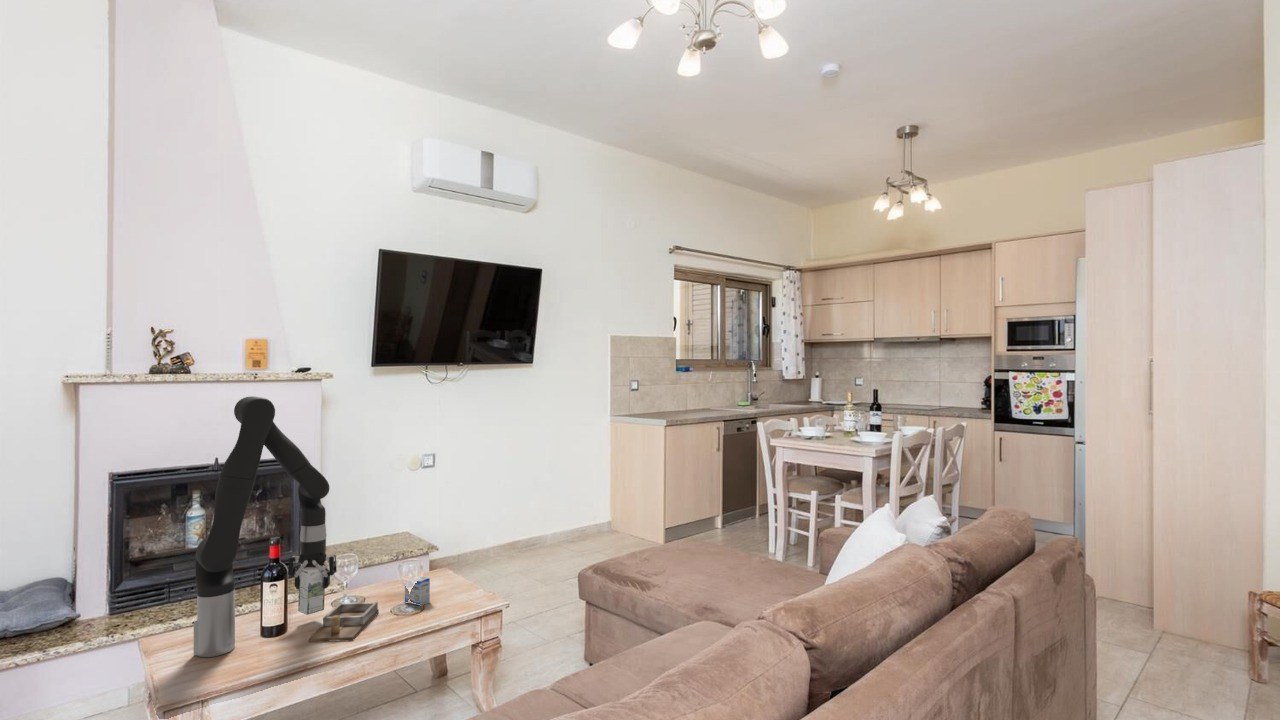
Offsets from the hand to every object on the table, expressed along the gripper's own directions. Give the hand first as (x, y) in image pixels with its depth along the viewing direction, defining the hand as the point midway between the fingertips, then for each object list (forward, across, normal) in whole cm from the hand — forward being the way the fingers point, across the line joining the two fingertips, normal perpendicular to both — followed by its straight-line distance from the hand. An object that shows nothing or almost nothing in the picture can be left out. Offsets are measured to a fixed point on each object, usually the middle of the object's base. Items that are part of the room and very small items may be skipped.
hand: (312, 588), depth 204 cm
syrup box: (+8, 0, 0) cm, 8 cm away
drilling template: (+11, +12, -4) cm, 17 cm away
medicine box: (+11, +30, +15) cm, 35 cm away
